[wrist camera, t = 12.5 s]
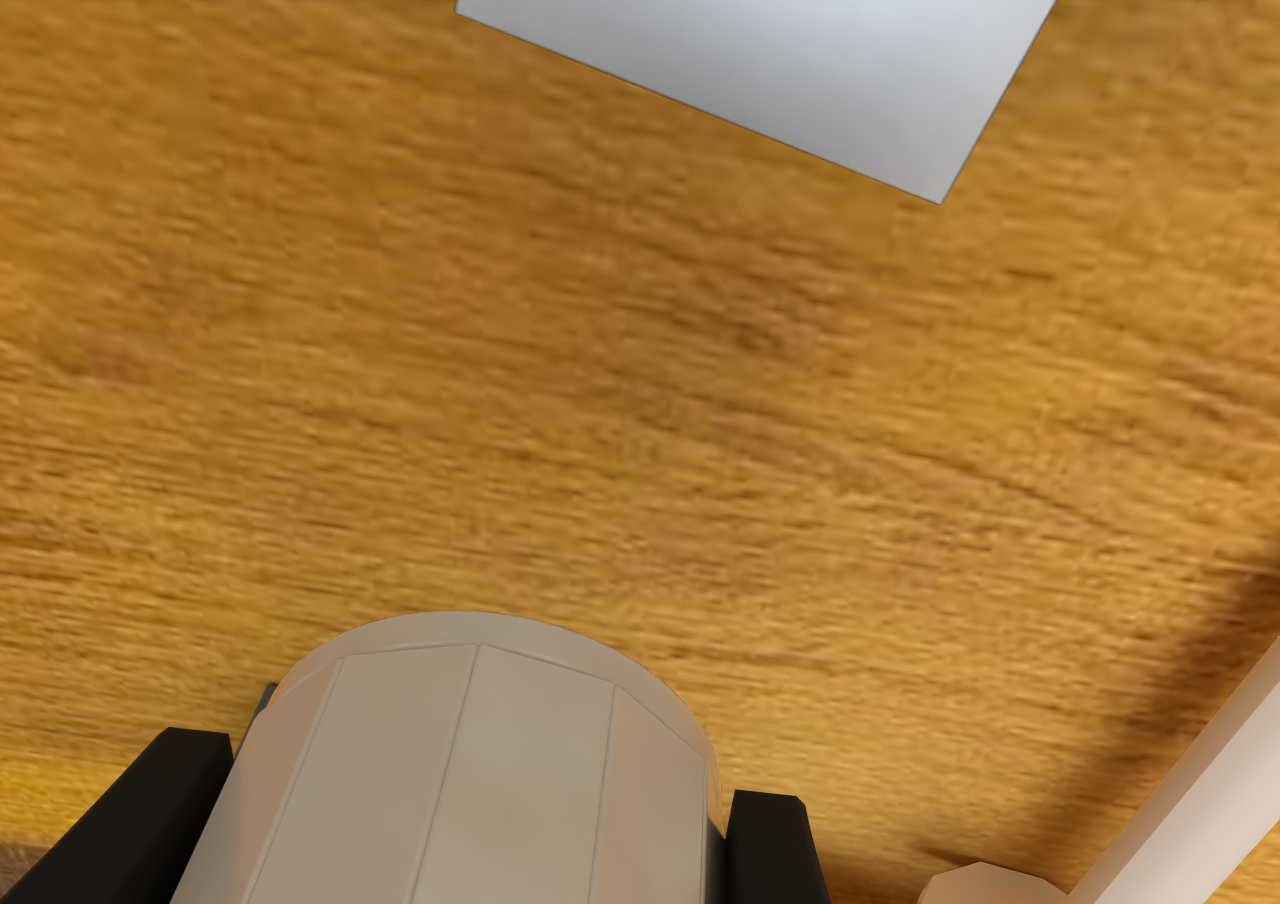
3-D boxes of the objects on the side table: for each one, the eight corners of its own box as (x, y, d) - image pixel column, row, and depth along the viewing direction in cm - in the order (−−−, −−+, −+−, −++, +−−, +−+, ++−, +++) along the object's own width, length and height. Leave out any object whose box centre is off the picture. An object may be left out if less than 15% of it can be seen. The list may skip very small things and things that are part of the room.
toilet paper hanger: (1053, 1070, 30) (1079, 1347, 24) (680, 889, 31) (616, 1114, 25) (1640, 420, 21) (1924, 611, 15) (1083, 178, 21) (1136, 266, 15)
